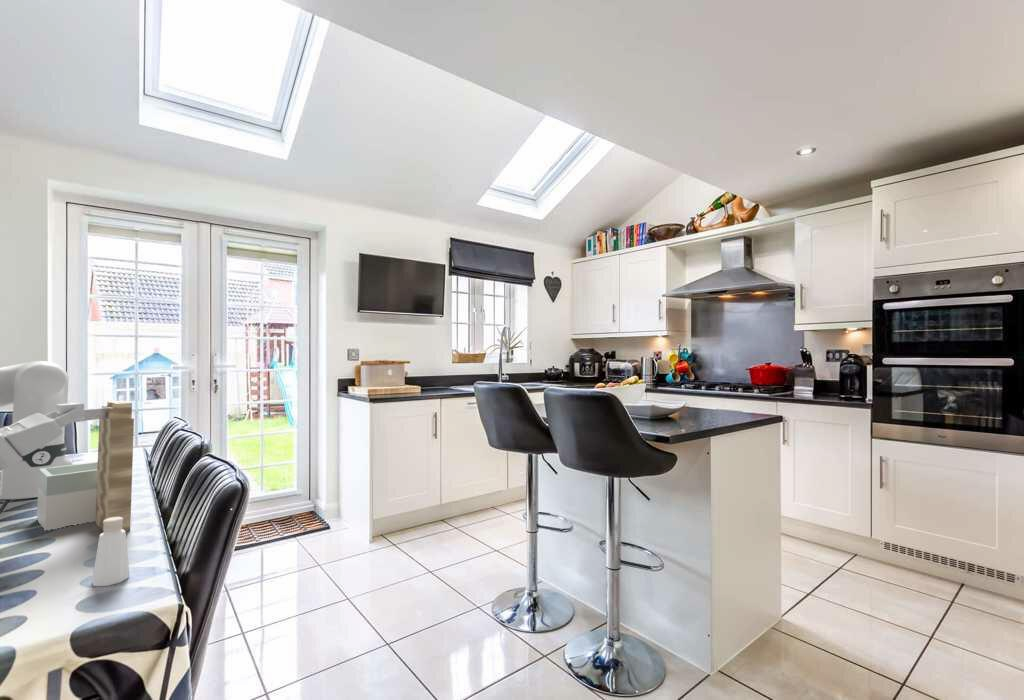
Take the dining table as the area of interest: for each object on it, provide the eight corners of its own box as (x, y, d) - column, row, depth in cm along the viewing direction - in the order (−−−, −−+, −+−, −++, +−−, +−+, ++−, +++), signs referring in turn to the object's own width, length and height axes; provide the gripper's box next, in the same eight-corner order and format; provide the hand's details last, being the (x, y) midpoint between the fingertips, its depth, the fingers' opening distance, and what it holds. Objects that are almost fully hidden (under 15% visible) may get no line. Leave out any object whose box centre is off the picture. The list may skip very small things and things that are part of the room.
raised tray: (36, 519, 116) (38, 468, 116) (117, 505, 128) (118, 459, 128) (45, 531, 108) (47, 476, 109) (129, 514, 120) (131, 465, 121)
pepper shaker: (85, 589, 81) (87, 525, 82) (98, 576, 86) (100, 515, 87) (124, 583, 84) (126, 521, 84) (134, 571, 89) (136, 512, 89)
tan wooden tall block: (95, 523, 114) (99, 401, 114) (116, 519, 117) (120, 400, 118) (108, 535, 106) (112, 404, 107) (130, 530, 109) (134, 403, 110)
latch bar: (57, 422, 106) (56, 404, 106) (119, 415, 114) (118, 399, 114) (60, 423, 103) (59, 405, 103) (123, 416, 112) (123, 400, 112)
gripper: (1, 453, 105) (75, 417, 114) (13, 466, 92) (95, 425, 102) (-19, 430, 102) (58, 395, 112) (-10, 440, 90) (76, 401, 99)
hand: (76, 410), depth 107 cm, fingers open, 7 cm apart
